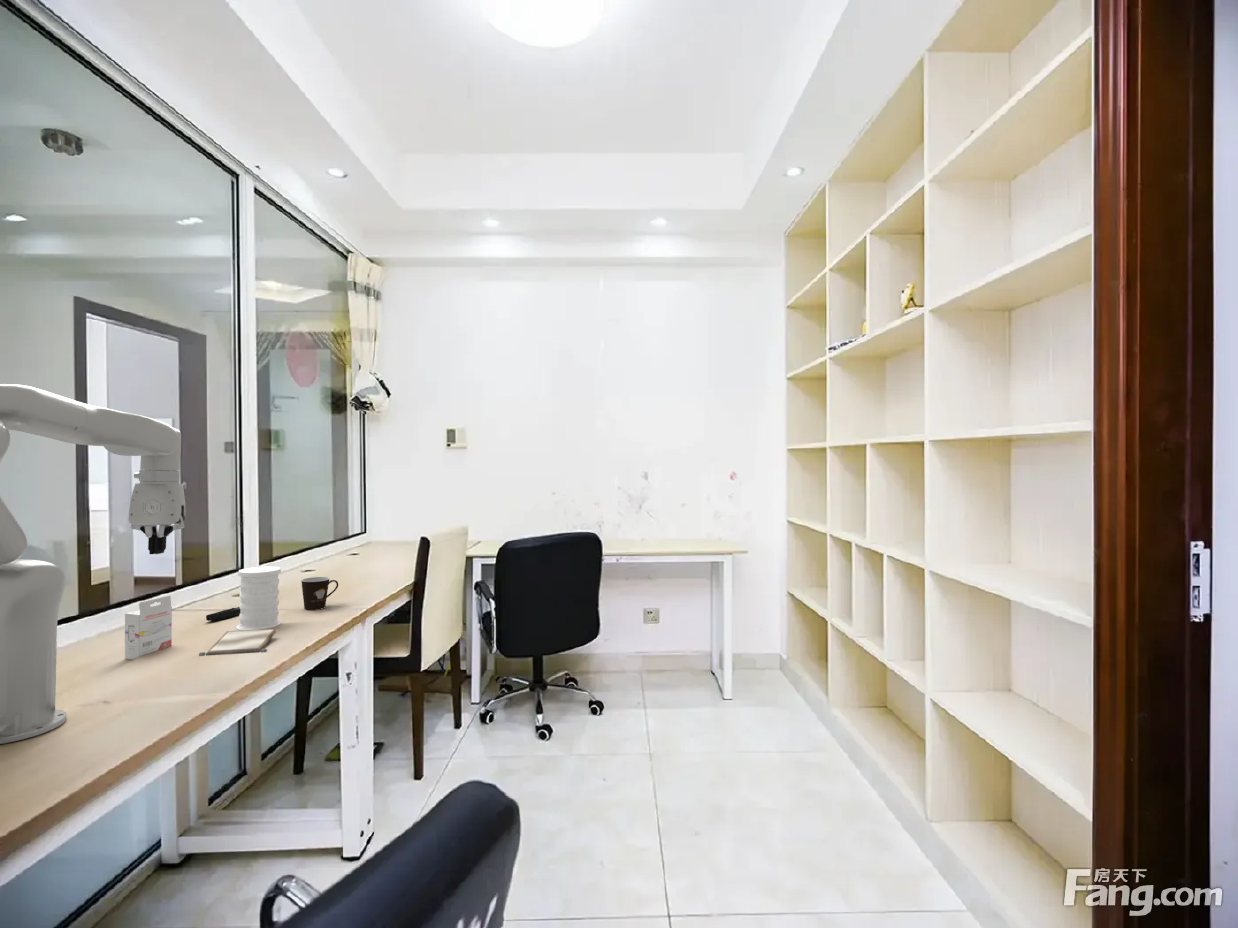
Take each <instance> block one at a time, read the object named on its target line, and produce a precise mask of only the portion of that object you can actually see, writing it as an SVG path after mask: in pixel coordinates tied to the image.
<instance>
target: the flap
mask: <svg viewBox="0 0 1238 928" xmlns="http://www.w3.org/2000/svg"><path fill="white" fill-rule="evenodd" d="M276 631H277V630H276V628H267V629H261V630H229V631H226V632H224V634H223V635H222V636H220V638H219V639H218V640H217V641H216V642H215V643H214V644H213V645H212V646H211V647H210V648H209V650H208V651H207V652H205V656H218V655H219V656H220V655H236V654H252V653H253V654H255V653H260V652H261V650H262V649H265V648H266V646H267V644H268V643H269V642H270V641H271V640H272V638H273V637H274V635H275V634H276Z"/></svg>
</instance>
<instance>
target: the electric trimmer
mask: <svg viewBox="0 0 1238 928" xmlns="http://www.w3.org/2000/svg"><path fill="white" fill-rule="evenodd" d="M239 615H240V607H239V606H238V607H231V608H229V609H228V608H227V609H223V610H220V611H216V612H213V613H209V614H206V615H205V620H206V621H210V622H214V621H221V620H227V619H230V618H233V617H235V616H239Z"/></svg>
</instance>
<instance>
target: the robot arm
mask: <svg viewBox="0 0 1238 928" xmlns="http://www.w3.org/2000/svg"><path fill="white" fill-rule="evenodd" d="M10 431H16V432H20V433H21V432H22V433H26V434H30V435H34V436H40V437H44V438H48V439H52V440H55V441H59V442H63V443H67V444H74V445H80V446H81V445H83V446H94V447H103V448H104V449H106V451H108V452H109V453H111V454H113V455H118V456H122V457H124V456H126V457H127V456H128V457H140V464H139V465H140V468H139V471H138V472H134V473H133V478H134V479H138V482H139V483H135V484H134V486H133V490H132V493H131V497H130V502H129V509H128V522H129V524H130V529H132V530H136V531H141V532H142V533H143V534H144V535H145V537H146V538H147V539H148V541H147V542H148V543H147V544H148V545H147V550H148V551H149V553H148V554H149V555H160V554H164V553H165V550H166V549H167V537H169V536H170V534H171V533H172V532H173V531H176V530H181V529H184V528H185V523H184V521H185V520H186V512H187V511H186V497H185V491H184V486H183V483H180V475H181V454H182V453H181V451H182V450H181V449H182V433H181V431H180V429H178V428H175V427H172V426H171V425H170V424H169V423H166V422H164V421H160V420H157V419H155V418H151V417H148V416H145V415H141V414H135V413H131V412H125V411H122V410H121V411H120V410H115V409H111V408H107V407H102V406H97V405H92V404H87V403H84V402H81V401H79V400H78V401H77V400H74V399H72V398H70V397H69V398H68V397H65V396H62V395H60V394H56V393H53V392H50V391H47V390H43V389H40V388H38V387H37V388H36V387H34V386H30V385H24V384H11V383H10V384H6V383H3V384H1V383H0V463H1V461H2V460H3V458H4V457H5V455H6V453H7V451H8V449H9V447H10V443H11V435H10ZM27 549H28V539H27V536H26V534H25V531H24V530H23V529H22V527H21V525H20V524H19V522H18V521H17V519H16V517H15V516H14V514H13V513H12V512H11V509H9V507H8V505H7V503H5V501H4V500H3V498H2V497H1V495H0V745H1V744H9V743H13V742H18V741H22V740H26V739H30V738H33V737H37V736H39V735H42V734H45V733H47V732H48V733H49V731H52V730H54V729H56V728H58V727H60V726H62V725H63V724H64V723H65V722H66V720H67V713H66V711H64V710H61V709H56V691H57V690H56V689H57V688H56V686H57V653H58V652H57V650H58V649H57V648H58V647H57V645H58V644H57V643H58V642H57V639H58V618H59V612H60V607H61V602H62V601H63V600H62V599H63V596H64V593H65V589H66V583H67V582H66V576H65V574H64V571H63V569H61V568H60V567H59V566H57V565H56V564H54V563H52V562H50V561H46V560H39V559H27V558H26V559H22V558H21V557H22V556H23V555H24V554H25V552H26V550H27ZM20 558H21V559H20Z"/></svg>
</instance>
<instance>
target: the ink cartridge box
mask: <svg viewBox="0 0 1238 928" xmlns="http://www.w3.org/2000/svg"><path fill="white" fill-rule="evenodd" d="M171 598H172V597H171V595H167V596H163V597H162V596H161V597H157V598H153V599H149V600H146V601H145V600H144V601H141V602H139V603H138V604H139V605H138V606H139V609H138V610H134V611H130V612H125V613H124V659H125V660H131V661H134V660H136V659H138V658H139V657H142V656H143V655H148V654H150V653H153V652H157V651H159V650H163V649H167V648H168V647H169V648H170V647H172V639H173V638H172V637H173V636H172V634H173V633H172V631H173V628H172V627H173V625H172V624H173V621H172V620H173V619H172V618H173V615H172V613H173V607H172V599H171ZM155 603H160V604H156V605H153V604H155ZM151 605H153V606H151Z"/></svg>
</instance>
